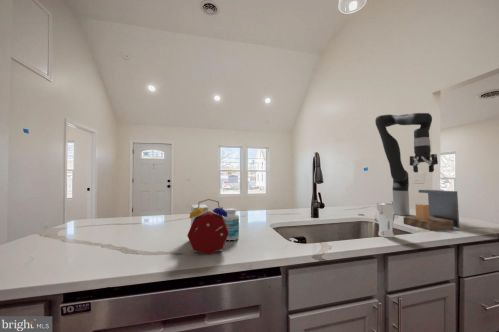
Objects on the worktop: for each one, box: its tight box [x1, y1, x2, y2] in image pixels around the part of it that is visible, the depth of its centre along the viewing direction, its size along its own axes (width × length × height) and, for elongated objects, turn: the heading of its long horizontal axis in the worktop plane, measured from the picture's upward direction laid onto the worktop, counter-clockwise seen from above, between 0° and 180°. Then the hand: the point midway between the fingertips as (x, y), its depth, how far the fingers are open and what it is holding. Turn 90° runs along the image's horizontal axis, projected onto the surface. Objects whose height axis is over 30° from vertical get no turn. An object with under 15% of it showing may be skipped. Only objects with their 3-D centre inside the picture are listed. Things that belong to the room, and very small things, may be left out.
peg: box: [415, 203, 430, 220], centre depth 110 cm, size 4×4×12 cm
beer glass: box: [376, 202, 395, 239], centre depth 94 cm, size 7×7×15 cm
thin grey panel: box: [418, 189, 460, 229], centre depth 113 cm, size 14×8×20 cm, turn 12°
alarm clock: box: [187, 198, 229, 255], centre depth 74 cm, size 15×9×20 cm, turn 98°
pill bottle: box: [223, 207, 240, 242], centre depth 91 cm, size 8×7×14 cm
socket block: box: [403, 215, 455, 231], centre depth 111 cm, size 14×16×4 cm
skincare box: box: [190, 203, 209, 226], centre depth 88 cm, size 8×7×16 cm
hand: (423, 172), depth 120 cm, fingers open, 8 cm apart
